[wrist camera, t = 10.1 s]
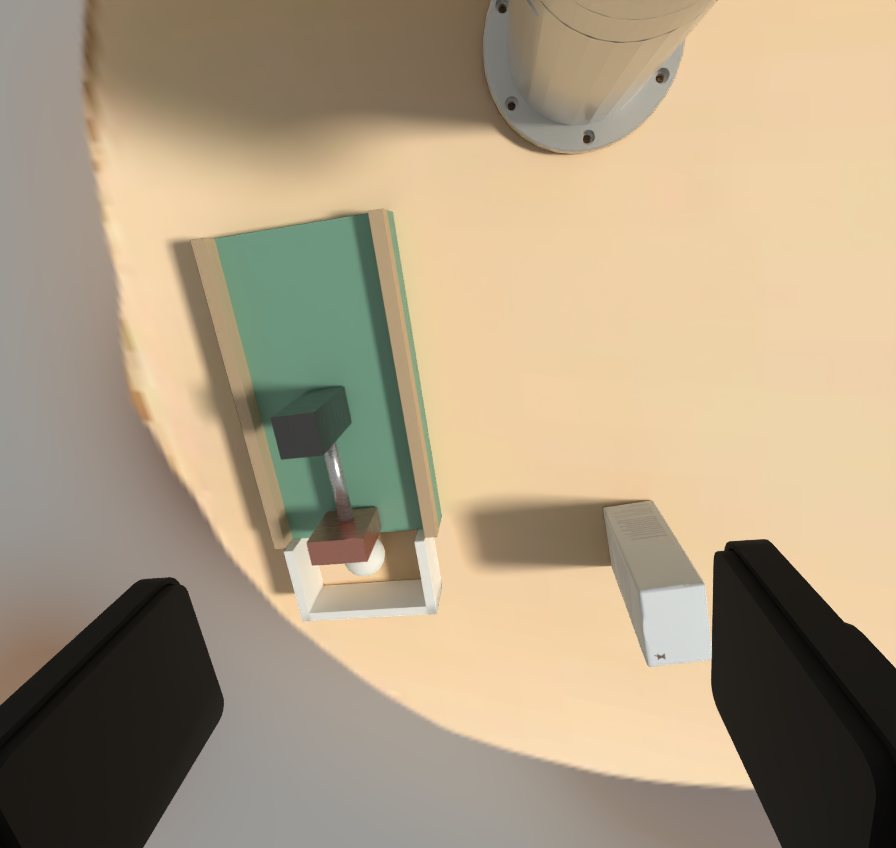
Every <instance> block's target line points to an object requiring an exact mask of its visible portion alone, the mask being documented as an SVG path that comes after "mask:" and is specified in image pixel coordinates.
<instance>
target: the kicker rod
mask: <svg viewBox="0 0 896 848" xmlns="http://www.w3.org/2000/svg"><path fill="white" fill-rule="evenodd" d="M270 419H271V423H272V427H273V431H274V435H275V439H276V443H277V446H278V450H279V454H280V458H281V460H284V459H294V458H304V457H314V456H323V455H324V457H325V461H326V466H327V470H328V475H329V479H330V483H331V488H332V492H333V497H334V501H335V505H336V510H337V511H327V512H326V514H325V515H324V517H323V518H322V520H321V521H320V523H319V524H318V526H317V527H316V529H315V530H314V532H313V533H312V535H311V536H310V538H309V539H308V541H307V542H306V544H307V548H308V552H309V556H310V560H311V564H312V566H314V565H329V564H343V563H357V562H368V559H369V557H370V555H371V552H372V550H373V548H374V546H375V543H376V541H377V539H378V536H379V534H380V532H381V529H382V527H381V522H380V517H379V512H378V507H374V508H363V509H352V506H351V502H350V497H349V493H348V488H347V483H346V479H345V474H344V470H343V465H342V461H341V456H340V451H339V447H338V442H337V439H338V438H339V437H340V436H341V435H342V434H343V433H344V431H345V430H346V429H347V428H348V427H349V426H350V424H351V423H352V421H351V416H350V411H349V406H348V401H347V397H346V392H345V387H344V386H342V387H334V388H325V389H317V390H308V391H306V392H305V393H304V394H302V395H301V396H299V397H298V398H297V399H295V400H294V401H292V402H291V403H290V404H288V405H287V406H285V407H284V408H283V409H281V410H280V411H278V412H277V413H276V414H274V415H273V416H272V417H270Z"/></svg>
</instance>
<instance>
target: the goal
mask: <svg viewBox="0 0 896 848" xmlns="http://www.w3.org/2000/svg"><path fill="white" fill-rule="evenodd" d="M308 539H309V538H303V539H293V540H292V541H291V542H290V544H289V545H288V546H287V548H286V549H285V551H284V555H285V559H286V562H287V566H288V570H289V573H290V577H291V581H292V585H293V588H294V592H295V596H296V600H297V603H298V607H299V611H300V614H301V618H302V621H318V620H336V619H354V618H372V617H390V616H408V615H426V614H437V611H438V605H439V599H440V594H441V588H442V582H441V576H440V570H439V565H438V559H437V553H436V547H435V541H434V537H431V538H425V535H424V529H418V532H417V535H416V538H415V548H416V553H417V559H418V564H419V570H420V575H421V579H416V580H401V581H385V582H370V583H355V584H339V585H324V584H323V580H322V576H321V572H320V568H319V565H314V566H312V564H311V560H310V556H309V552H308V548H307V544H306V542H307V541H308Z"/></svg>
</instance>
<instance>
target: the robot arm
mask: <svg viewBox="0 0 896 848" xmlns="http://www.w3.org/2000/svg"><path fill="white" fill-rule="evenodd" d="M717 1H718V0H491V2H490V6H489V9H488V12H487V15H486V21H485V28H484V35H483V61H484V69H485V76H486V79H487V83H488V86H489V90H490V94H491V96H492V98H493V100H494V102H495V104H496V106H497V108H498V110H499V112H500V114H501V115H502V116H503V118H504V119H505V120H506V122H507V123H508V124H509V126H510V127H511V128H512V129H514V130H515V131H516V132H517V133H518V134H519V135H520V136H521V137H523V138H524V139H525V140H527V141H529V142H531V143H532V144H534V145H536V146H538V147H540V148H543V149H546V150H549V151H553V152H556V153H567V154H578V153H587V152H593V151H596V150H599V149H602V148H605V147H608V146H610V145H612V144H614V143H616V142H617V141H619V140H621V139H623V138H625V137H626V136H628V135H629V134H630V133H631V132H633V131H634V130H635V129H637V128H638V127H639V126H640V125H641V124H642V123H643V122H644V121H645V120H646V119H647V118H648V117H649V116H650V115H651V114H652V113H653V112H654V111H655V109H656V108H657V106H658V105H659V104H660V102H661V101H662V100H663V98H664V97H665V96H666V94H667V92H668V90H669V88H670V87H671V85H672V83H673V81H674V79H675V77H676V74H677V71H678V68H679V65H680V62H681V59H682V56H683V51H684V45H685V39H686V37H687V35H688V34H689V33H690V32H691V31H692V30H693V28H694V27H695V26H696V25H697V24H698V23H699V22H700V20H701V19H702V18H703V17H704V16H705V15H706V13H707V12H708V11H709V10H710V9H711V8H712V6H713V5H714V4H715V3H716V2H717ZM501 7H505V8H506V12H505V13H499V11H498V10H499V9H500V8H501ZM656 76H661V77H662V82H661V83H658V82H657V81H656ZM510 103H513V104H514V105H515V109H514V110H512V111H511V110H509V109H508V105H509V104H510ZM584 136H588V137H589V138H590V142H589V143H584V142H583V137H584ZM711 686H712V693H713V697H714V701H715V704H716V706H717V709H718V711H719V713H720V715H721V718H722V720H723V722H724V724H725V726H726V728H727V730H728V733H729V735H730V737H731V739H732V741H733V743H734V745H735V748H736V750H737V752H738V754H739V756H740V758H741V760H742V763H743V765H744V767H745V769H746V771H747V773H748V775H749V778H750V780H751V782H752V784H753V786H754V788H755V790H756V793H757V794H758V797H759V799H760V801H761V803H762V805H763V808H764V810H765V812H766V814H767V816H768V818H769V820H770V823H771V825H772V827H773V829H774V831H775V833H776V835H777V837H778V840H779V842H780V844H781V846H782V848H896V668H895V667H894V666H893V665H892V664H891V663H890V662H889V661H888V660H887V659H886V658H885V656H884V655H883V654H882V653H881V652H880V651H879V650H878V649H877V648H876V647H875V646H874V645H873V644H872V643H871V642H870V640H869V639H868V638H867V637H866V636H865V635H864V634H863V633H862V632H861V631H859V630H858V629H857V628H856V627H855V626H853V625H851V624H848V623H844V621H843V620H842V619H841V618H840V617H839V616H838V615H837V614H836V613H835V612H834V611H833V609H832V608H831V607H830V606H829V605H828V604H827V603H826V602H825V601H824V600H823V599H822V597H821V596H820V595H819V594H818V593H817V592H816V591H815V590H814V589H813V588H812V586H811V585H810V584H809V583H808V582H807V581H806V580H805V579H804V578H803V577H802V576H801V574H800V573H799V572H798V571H797V570H796V569H795V568H794V567H793V566H792V565H791V564H790V562H789V561H788V560H787V559H786V558H785V557H784V556H783V555H782V554H781V553H780V552H779V550H778V549H777V548H776V547H775V546H774V545H773V544H772V543H771V542H770V541H769V540H766V539H760V540H744V541H729V542H728V543H726V546H725V550H724V551H717V552H716V553H715V555H714V566H713V617H712V669H711ZM223 707H224V699H223V695H222V692H221V689H220V686H219V683H218V680H217V677H216V674H215V671H214V668H213V665H212V662H211V659H210V656H209V654H208V650H207V647H206V644H205V641H204V638H203V635H202V632H201V629H200V626H199V623H198V620H197V617H196V614H195V612H194V609H193V606H192V603H191V600H190V597H189V594H188V591H187V590H186V588H185V587H184V586H183V585H180V584H179V582H178V581H177V580H176V579H174V578H170V577H168V578H153V579H142V580H139V581H137V582H136V583H135V584H133V585H132V586H131V587H130V588H129V589H128V590H127V591H126V592H125V593H124V594H122V595H121V596H120V597H119V598H118V599H117V600H116V601H115V602H114V603H113V604H111V605H110V606H109V607H108V608H107V609H106V610H105V611H104V612H103V613H102V614H101V615H99V616H98V617H97V618H96V619H95V620H94V621H93V622H92V623H90V624H89V625H88V626H87V627H86V628H85V629H84V630H83V631H82V632H81V633H79V634H78V635H77V636H76V637H75V638H74V639H73V640H72V641H71V642H70V643H69V644H67V645H66V646H65V647H64V648H63V649H62V650H61V651H60V652H59V653H57V654H56V655H55V656H54V657H53V658H52V659H51V660H50V661H49V662H48V663H46V665H44V666H43V667H42V668H41V669H40V670H39V671H38V672H37V673H35V675H33V676H32V677H31V678H30V679H29V680H28V681H27V682H26V683H24V684H23V685H22V686H21V687H20V688H19V689H18V690H17V691H16V692H15V693H13V694H12V695H11V696H10V697H9V698H8V699H7V700H6V701H5V702H4V703H3V704H1V705H0V848H143V847H144V845H145V844H146V842H147V840H148V839H149V837H150V835H151V834H152V832H153V830H154V829H155V827H156V825H157V824H158V822H159V820H160V818H161V817H162V815H163V814H164V812H165V810H166V809H167V807H168V805H169V804H170V802H171V800H172V799H173V797H174V795H175V794H176V792H177V790H178V789H179V787H180V785H181V784H182V782H183V780H184V779H185V777H186V775H187V774H188V772H189V770H190V769H191V767H192V765H193V764H194V762H195V760H196V759H197V757H198V755H199V754H200V752H201V750H202V749H203V747H204V745H205V744H206V742H207V740H208V739H209V737H210V735H211V734H212V732H213V730H214V729H215V727H216V725H217V724H218V722H219V720H220V718H221V716H222V712H223Z"/></svg>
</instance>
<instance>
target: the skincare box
mask: <svg viewBox="0 0 896 848" xmlns="http://www.w3.org/2000/svg"><path fill="white" fill-rule="evenodd" d="M603 511H604V518H605V525H606V532H607V539H608V545H609V552H610V558H611V565H612V569H613V572H614V575H615V578H616V580H617V583H618V586H619V589H620V591H621V594H622V597H623V599H624V602H625V605H626V608H627V610H628V613H629V616H630V619H631V622H632V624H633V627H634V630H635V633H636V635H637V638H638V641H639V644H640V647H641V650H642V652H643V655H644V658H645V660H646V663H647V665H648V666H649V667H653V666H661V665H670V664H680V663H690V662H699V661H707V660H712V647H711V635H710V626H709V619H708V610H707V600H706V591H705V583H704V582H703V580H702V579H701V577H700V575H699V574H698V572H697V571H696V569H695V567H694V566H693V564H692V563H691V561H690V559H689V558H688V556H687V555H686V553H685V551H684V550H683V548H682V546H681V545H680V543H679V542H678V540H677V538H676V537H675V535H674V534H673V532H672V530H671V529H670V527H669V526H668V524H667V522H666V521H665V519H664V518H663V516H662V515H661V513H660V511H659V510H658V508H657V507H656V505H655V504H654V502H653V501H651V500H649V501H643V502H637V503H630V504H624V505H617V506H610V507H604V508H603Z"/></svg>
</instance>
